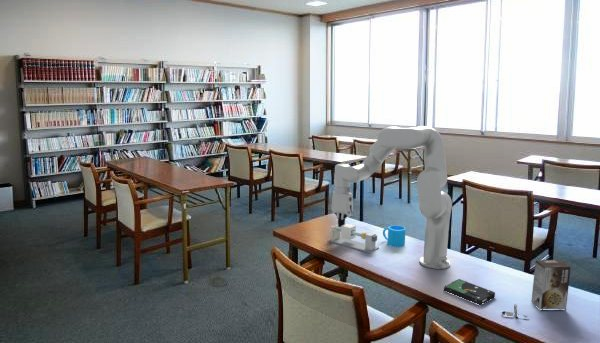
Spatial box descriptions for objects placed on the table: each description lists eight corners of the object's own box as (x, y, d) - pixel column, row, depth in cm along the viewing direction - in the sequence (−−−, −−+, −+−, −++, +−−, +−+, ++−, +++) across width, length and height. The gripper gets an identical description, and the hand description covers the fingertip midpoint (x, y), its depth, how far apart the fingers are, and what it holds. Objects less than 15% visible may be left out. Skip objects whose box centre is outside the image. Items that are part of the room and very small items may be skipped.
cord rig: (379, 248, 213) (380, 233, 211) (370, 253, 207) (371, 237, 205) (337, 237, 228) (337, 222, 227) (327, 241, 222) (327, 226, 221)
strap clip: (501, 317, 151) (502, 305, 150) (500, 313, 154) (501, 301, 153) (529, 321, 149) (530, 309, 148) (527, 317, 152) (529, 305, 151)
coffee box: (555, 302, 162) (560, 259, 159) (566, 311, 155) (572, 266, 152) (530, 302, 161) (534, 259, 158) (540, 311, 155) (545, 266, 152)
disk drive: (494, 299, 165) (458, 284, 176) (495, 292, 164) (458, 278, 176) (479, 307, 158) (442, 292, 170) (480, 300, 158) (443, 285, 169)
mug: (408, 244, 219) (409, 228, 218) (398, 248, 214) (399, 231, 212) (387, 238, 228) (388, 222, 226) (377, 241, 222) (378, 225, 221)
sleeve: (355, 237, 219) (355, 225, 218) (349, 240, 215) (349, 227, 214) (346, 235, 222) (347, 223, 221) (340, 237, 219) (341, 225, 217)
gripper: (359, 190, 215) (358, 228, 219) (334, 186, 225) (333, 221, 228) (350, 193, 210) (349, 231, 213) (325, 188, 219) (324, 225, 223)
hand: (341, 226), depth 221 cm, fingers closed
